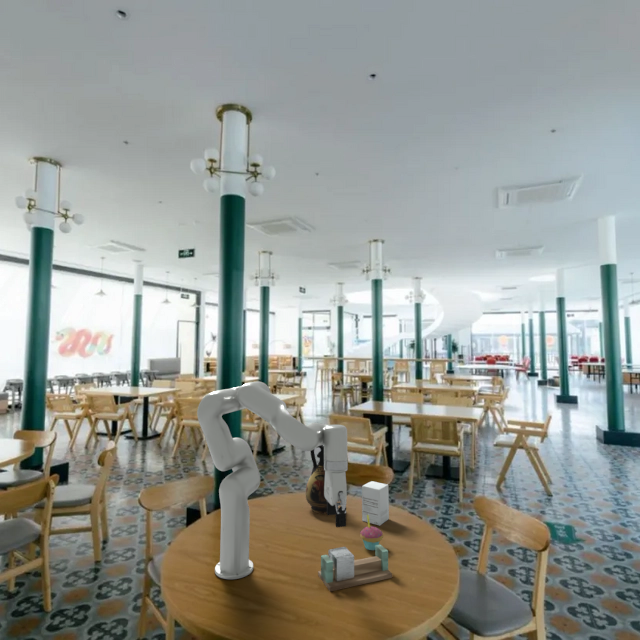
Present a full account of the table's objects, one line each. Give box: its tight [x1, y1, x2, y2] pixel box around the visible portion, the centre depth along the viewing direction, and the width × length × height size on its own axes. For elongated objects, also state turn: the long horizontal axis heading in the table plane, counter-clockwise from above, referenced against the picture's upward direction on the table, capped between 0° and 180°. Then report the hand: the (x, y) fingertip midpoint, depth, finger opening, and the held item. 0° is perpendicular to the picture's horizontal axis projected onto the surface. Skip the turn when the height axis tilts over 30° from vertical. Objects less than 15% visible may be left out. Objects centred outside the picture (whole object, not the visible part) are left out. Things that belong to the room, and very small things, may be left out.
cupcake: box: [359, 513, 384, 551], centre depth 155 cm, size 9×8×12 cm
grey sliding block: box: [327, 546, 355, 582], centre depth 133 cm, size 7×6×7 cm
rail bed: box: [317, 543, 393, 592], centre depth 135 cm, size 10×22×7 cm, turn 112°
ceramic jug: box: [302, 445, 327, 515], centre depth 193 cm, size 17×15×30 cm
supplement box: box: [361, 480, 390, 526], centre depth 181 cm, size 9×9×15 cm
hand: (336, 520), depth 130 cm, fingers open, 9 cm apart
